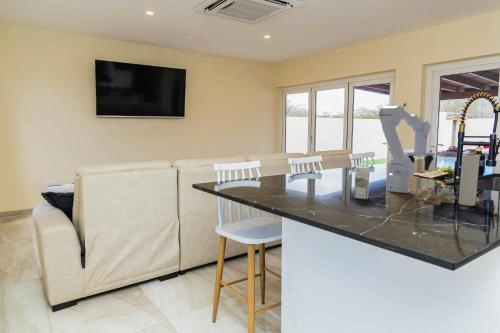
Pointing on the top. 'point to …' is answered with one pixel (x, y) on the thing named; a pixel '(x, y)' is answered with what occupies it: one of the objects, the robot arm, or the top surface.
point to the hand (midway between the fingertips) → (418, 170)
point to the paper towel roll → (469, 179)
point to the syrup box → (361, 182)
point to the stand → (432, 200)
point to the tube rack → (435, 195)
